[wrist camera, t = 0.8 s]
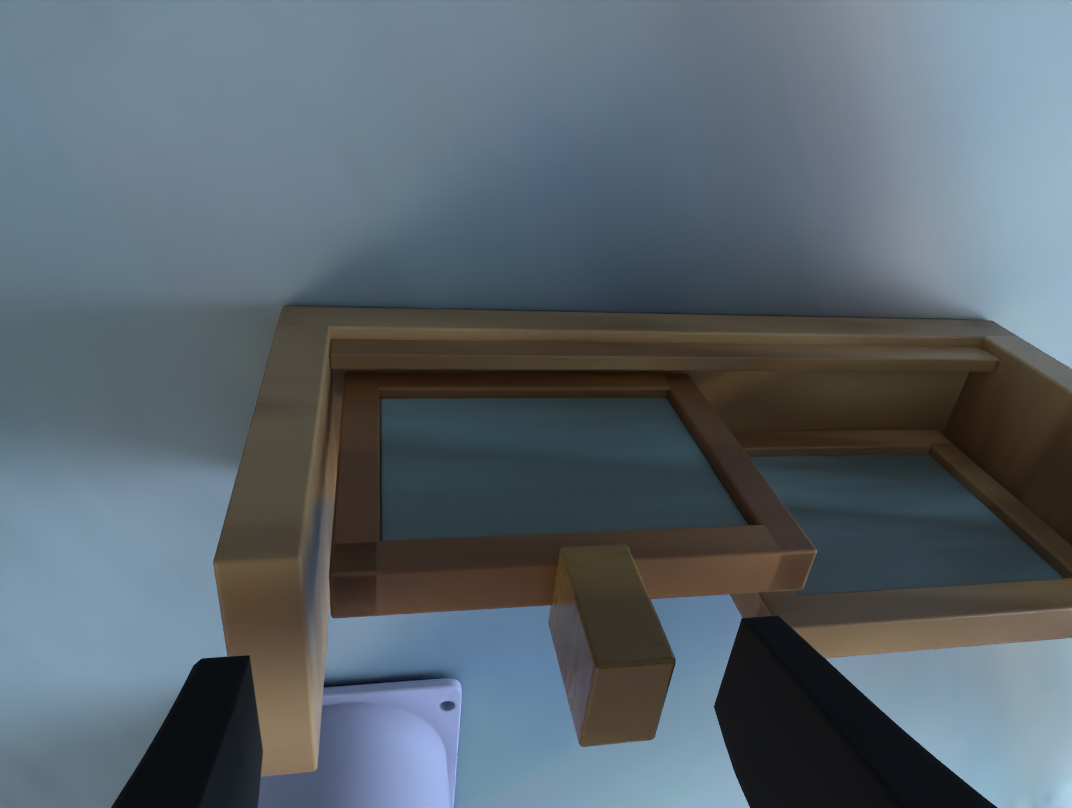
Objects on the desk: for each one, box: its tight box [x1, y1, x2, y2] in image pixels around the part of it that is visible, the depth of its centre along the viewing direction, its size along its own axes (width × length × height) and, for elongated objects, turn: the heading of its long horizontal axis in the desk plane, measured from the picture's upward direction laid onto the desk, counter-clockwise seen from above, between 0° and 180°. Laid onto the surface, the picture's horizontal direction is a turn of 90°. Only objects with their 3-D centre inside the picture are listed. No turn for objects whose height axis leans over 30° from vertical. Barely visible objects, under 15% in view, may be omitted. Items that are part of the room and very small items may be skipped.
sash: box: [329, 372, 817, 747], centre depth 15 cm, size 2×9×9 cm, turn 84°
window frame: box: [213, 306, 1072, 777], centre depth 18 cm, size 5×20×9 cm, turn 84°
